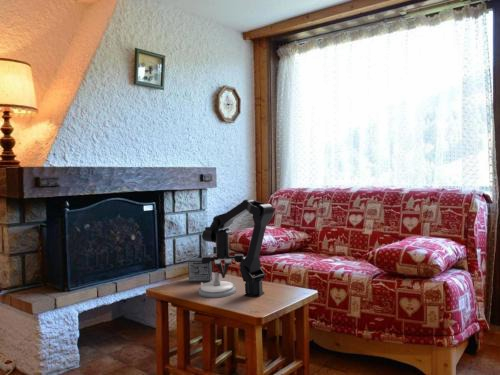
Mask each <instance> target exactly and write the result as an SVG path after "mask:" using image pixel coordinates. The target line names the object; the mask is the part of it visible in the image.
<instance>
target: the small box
mask: <svg viewBox="0 0 500 375" xmlns="http://www.w3.org/2000/svg"><path fill="white" fill-rule="evenodd" d="M187 265H188V266H187V267H188V268H187V270H188V283H208V282H212V280H213V267H212V261H211V262H210V263H209V264H202V257H201V258H199V257H197V258H190V259H188V260H187Z"/></svg>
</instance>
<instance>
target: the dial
mask: <svg viewBox="0 0 500 375" xmlns="http://www.w3.org/2000/svg"><path fill="white" fill-rule="evenodd" d="M219 274H220V272H215V273H214V281H210V282H203V284H202V285H201V284H200V288H201V290H202V291H204V292H210V293H218V292H225V291H229V290H231V289H233V286H234V284H233V282H230V281H225V280H223V281H222V280H220V275H219Z"/></svg>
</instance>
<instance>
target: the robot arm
mask: <svg viewBox="0 0 500 375" xmlns="http://www.w3.org/2000/svg"><path fill="white" fill-rule="evenodd" d="M247 212H248V213H250V214H251V215H252V220H253V223H254V225H253V229H252V234H251V237H250V243H249V246H248V251H247V255H245V256H244V254H243V253H234V255H232V256H231V255H230V244H229V243H230V242H229V234H232V233H233V231H232V230H230V228H229V227H230V226H231V225H232V224H233V222H234V221H235V220H236V219H237V218H239V217H240V216H242V215H244V214H245V213H247ZM274 214H275V209H274V207H273V206H272V204H270V203H264V202H260V201H257V200H255V199H252V198H249V199H248V198H247V199H244V200H242V201H241V202H239V204H238V205H236V206H234V207H233V208H231V209H230V210H228V211H227V212H225V213H224V212H223V213H220V214H218V215H216V216H214V217H213V218H212V222H211V224H210V226H205V227H204V230H203V232H202V234H201V238H202V240H203V242H208V243H215V246H213V249H212V250H213V251H212V252H213V255H216V256H212V255H210V254H207V255H206V254H205V255H202V256H201V258H202V264H209V263H210V262H211V263H212V262H214V266H217V268H218V270H219V273H220V275H221V277H222V279H225V278H226V275H227V274H226V273H227V271H228V268H229V266H231V265H232V261H235V262H236V263H240V264H239V272H240V275H241V278H242V280H243V282H245V283H244V287H245V288H244V292H245V294H244V296H245V297H246V296H247V297H254V298H258V297H260V296H262V295H264V294H265V291H264V290H263V280H264V279H265V278H266V273H265V272H264V269H262V268H261V259H260V254H261V250H262V245H263V241H264V237H265V233H266V230H267V226H268V224H270V221H271V220H272V218H273V216H274ZM222 262H224V265H223V264H222Z"/></svg>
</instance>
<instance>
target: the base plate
mask: <svg viewBox="0 0 500 375" xmlns="http://www.w3.org/2000/svg"><path fill="white" fill-rule="evenodd" d="M202 284H204V282H200V286H201V285H202ZM235 293H236V286H235V285H233V289H231V290H229V291H225V292H218V293H210V292H204V291H202V290H201V287H199V288H198V295H199V296H201V297H204V298H211V299H213V298H224V297H229V296H232V295H234V294H235Z"/></svg>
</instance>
